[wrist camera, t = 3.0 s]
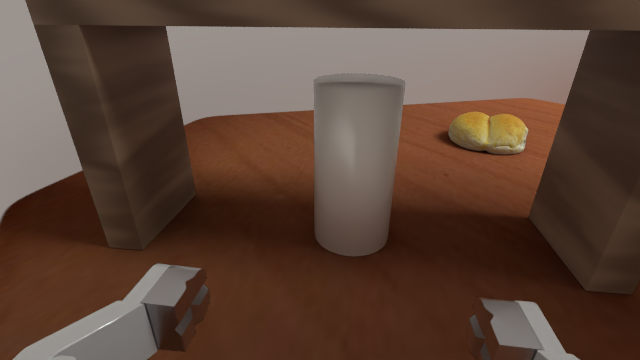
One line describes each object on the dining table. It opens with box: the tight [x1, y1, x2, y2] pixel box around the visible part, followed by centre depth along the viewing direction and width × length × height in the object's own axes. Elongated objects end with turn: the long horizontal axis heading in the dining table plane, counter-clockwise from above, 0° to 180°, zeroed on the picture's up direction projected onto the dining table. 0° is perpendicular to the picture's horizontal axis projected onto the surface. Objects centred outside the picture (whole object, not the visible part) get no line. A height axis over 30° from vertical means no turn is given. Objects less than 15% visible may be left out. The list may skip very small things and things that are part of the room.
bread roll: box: [449, 112, 528, 155], centre depth 42 cm, size 8×9×4 cm
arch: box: [26, 0, 640, 295], centre depth 21 cm, size 33×8×16 cm, turn 83°
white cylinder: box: [314, 74, 405, 256], centre depth 23 cm, size 5×5×11 cm
